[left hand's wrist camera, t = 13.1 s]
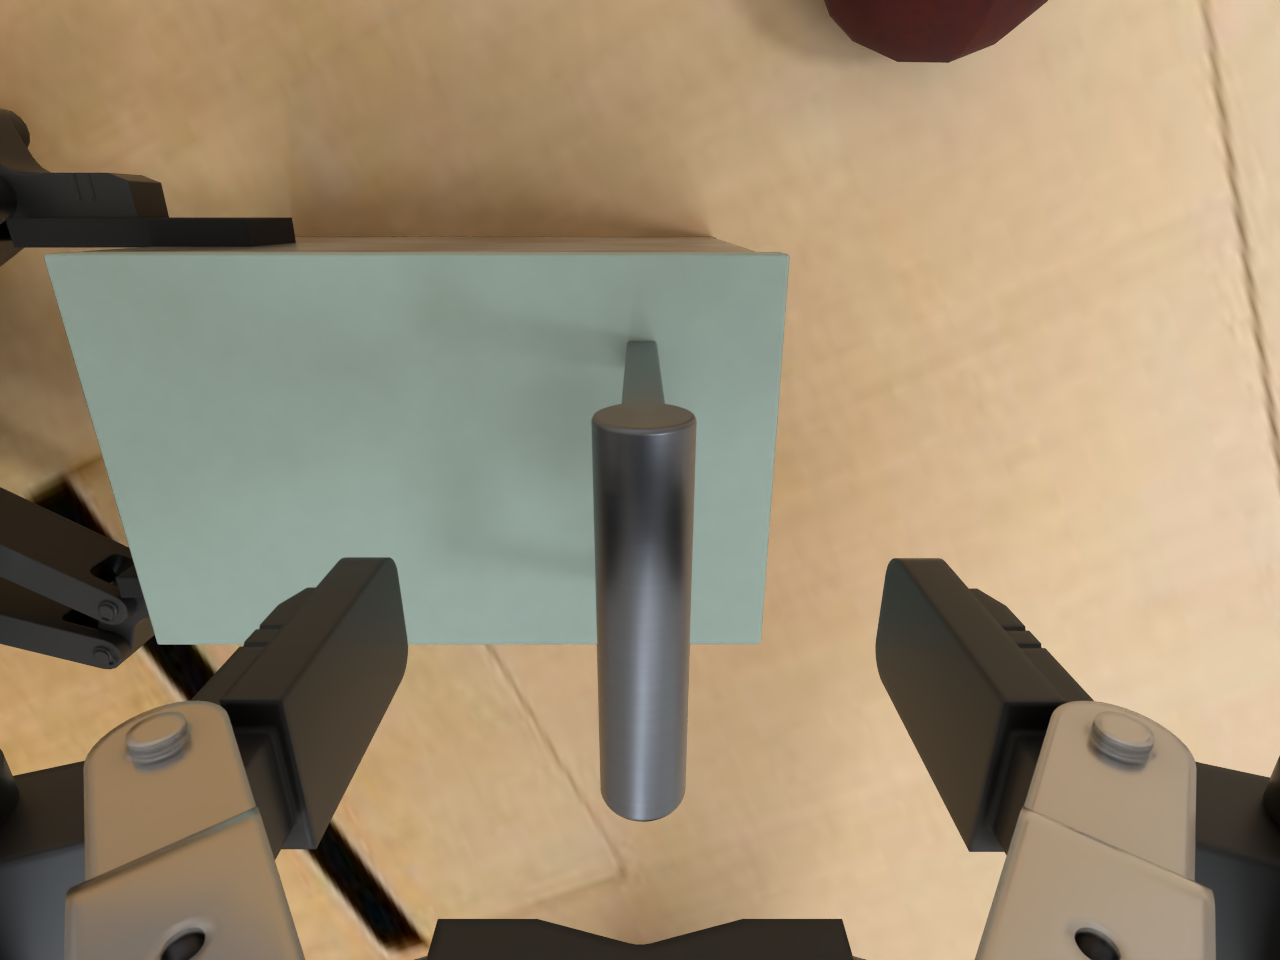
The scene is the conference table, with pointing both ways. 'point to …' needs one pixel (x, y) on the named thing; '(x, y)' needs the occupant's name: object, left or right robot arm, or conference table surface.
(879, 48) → the potato
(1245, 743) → the conference table surface
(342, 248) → the chest
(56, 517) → the right robot arm
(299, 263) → the lid
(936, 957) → the conference table surface
